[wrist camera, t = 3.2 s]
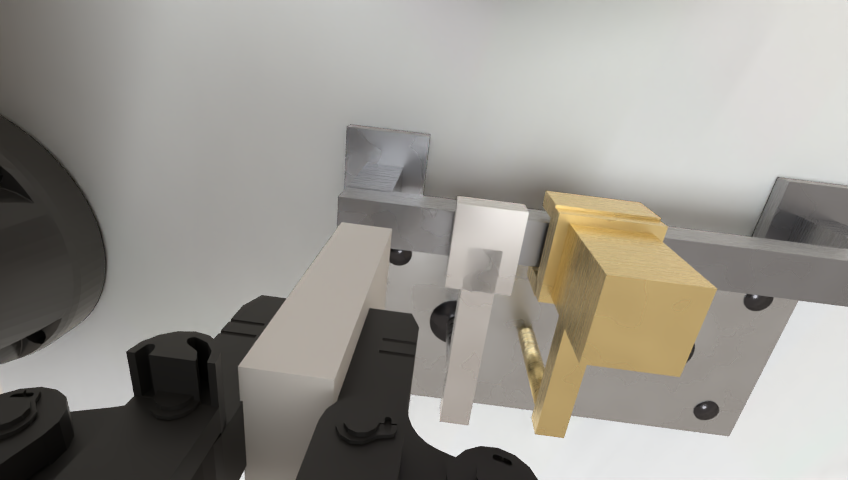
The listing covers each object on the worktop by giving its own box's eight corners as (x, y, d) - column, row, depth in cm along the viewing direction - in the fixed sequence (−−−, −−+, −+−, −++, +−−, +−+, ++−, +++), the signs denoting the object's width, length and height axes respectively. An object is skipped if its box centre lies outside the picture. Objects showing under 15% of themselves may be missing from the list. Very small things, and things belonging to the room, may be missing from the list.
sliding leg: (492, 337, 24) (518, 519, 15) (527, 165, 21) (595, 258, 11) (556, 345, 24) (625, 534, 15) (603, 175, 21) (739, 276, 11)
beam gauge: (342, 305, 26) (297, 403, 18) (350, 124, 22) (297, 156, 14) (770, 360, 25) (902, 483, 18) (860, 187, 21) (1076, 254, 14)
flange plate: (356, 375, 28) (352, 387, 27) (366, 212, 23) (363, 218, 22) (719, 423, 27) (729, 437, 26) (796, 266, 23) (812, 275, 22)
